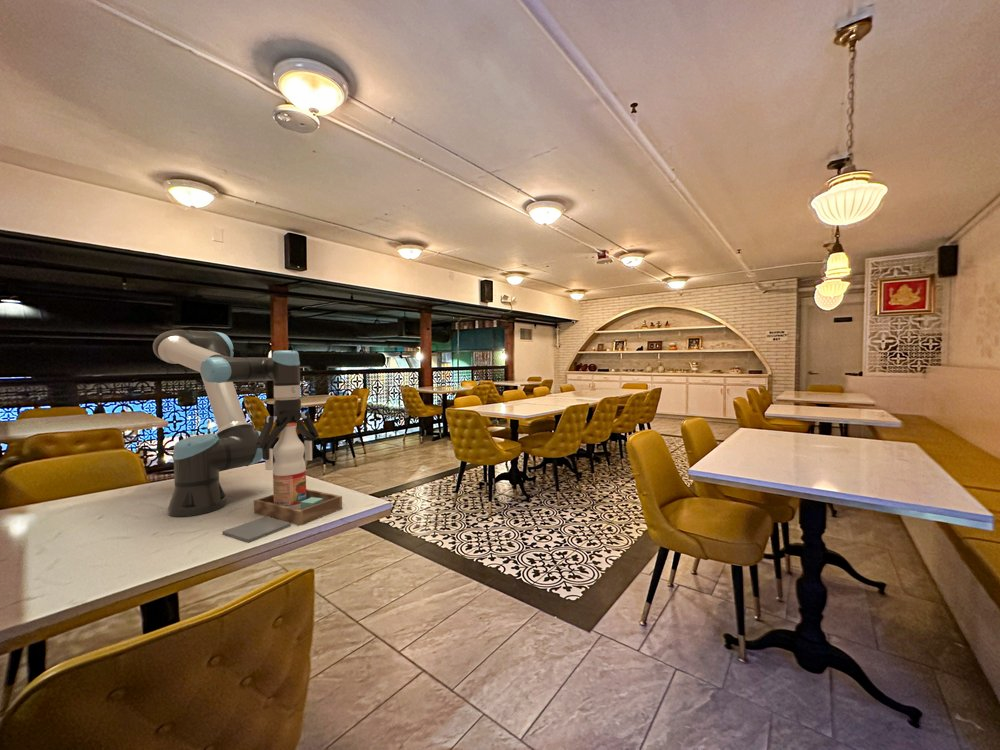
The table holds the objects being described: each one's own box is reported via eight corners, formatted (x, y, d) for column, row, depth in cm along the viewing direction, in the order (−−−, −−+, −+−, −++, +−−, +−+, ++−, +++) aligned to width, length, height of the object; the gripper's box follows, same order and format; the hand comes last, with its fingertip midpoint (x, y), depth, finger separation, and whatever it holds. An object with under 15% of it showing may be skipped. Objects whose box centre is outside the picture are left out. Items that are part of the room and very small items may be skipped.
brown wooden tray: (254, 513, 127) (253, 500, 126) (297, 498, 140) (297, 487, 140) (300, 525, 116) (299, 511, 116) (342, 508, 130) (341, 496, 130)
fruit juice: (275, 506, 132) (272, 421, 131) (307, 502, 136) (304, 419, 135) (272, 516, 124) (270, 425, 123) (306, 511, 128) (304, 423, 127)
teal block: (301, 516, 124) (300, 501, 124) (312, 511, 128) (311, 497, 128) (312, 517, 122) (312, 503, 122) (323, 512, 127) (323, 498, 126)
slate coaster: (222, 534, 111) (222, 531, 111) (265, 519, 122) (265, 516, 122) (248, 542, 105) (248, 539, 105) (290, 526, 116) (290, 523, 116)
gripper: (255, 402, 116) (258, 475, 117) (328, 395, 138) (330, 457, 139) (240, 402, 120) (243, 473, 120) (313, 395, 142) (315, 455, 142)
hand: (289, 464), depth 129 cm, fingers open, 13 cm apart
